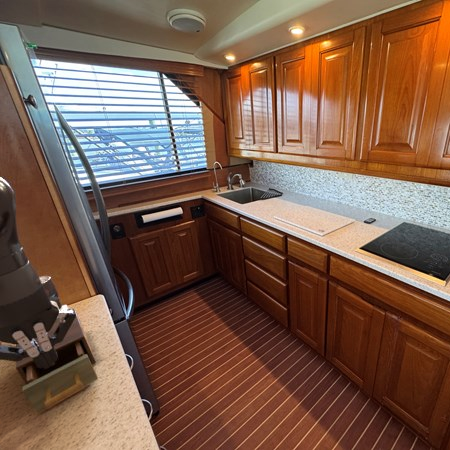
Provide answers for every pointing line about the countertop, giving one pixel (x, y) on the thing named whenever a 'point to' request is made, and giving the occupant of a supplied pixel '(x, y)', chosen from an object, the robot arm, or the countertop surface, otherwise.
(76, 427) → the countertop surface
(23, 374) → the cabinet
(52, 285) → the silver metal tumbler
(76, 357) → the drawer
